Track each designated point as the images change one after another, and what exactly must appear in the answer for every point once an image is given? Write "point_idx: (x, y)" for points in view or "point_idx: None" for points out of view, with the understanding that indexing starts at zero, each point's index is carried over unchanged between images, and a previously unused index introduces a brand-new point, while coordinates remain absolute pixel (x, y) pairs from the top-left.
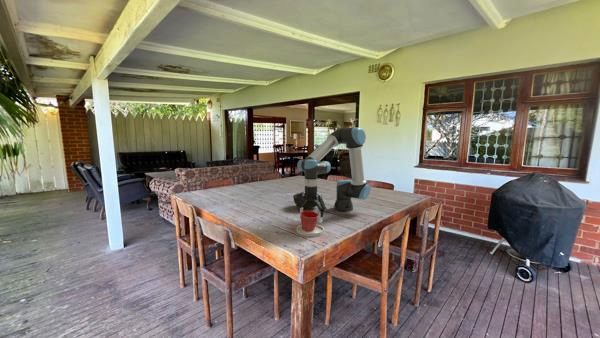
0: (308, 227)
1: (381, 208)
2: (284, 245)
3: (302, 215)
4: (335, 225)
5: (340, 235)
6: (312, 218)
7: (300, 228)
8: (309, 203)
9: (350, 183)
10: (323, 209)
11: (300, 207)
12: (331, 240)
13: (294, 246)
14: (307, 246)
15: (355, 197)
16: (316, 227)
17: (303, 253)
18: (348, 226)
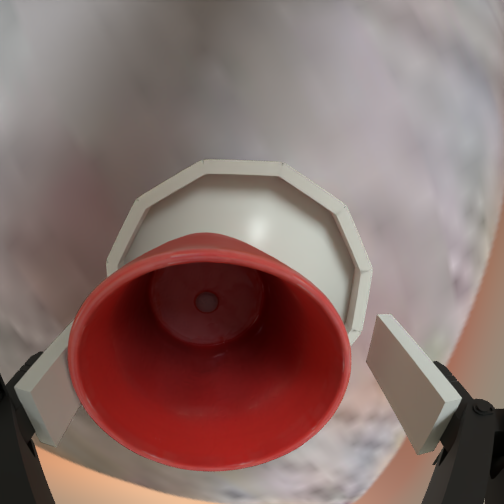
0: (248, 364)
1: None
2: (229, 494)
3: (175, 466)
4: (366, 35)
5: (470, 235)
6: (308, 432)
7: None
8: None
9: None
10: (495, 466)
11: (31, 436)
12: (437, 344)
13: (276, 485)
14: (334, 462)
15: None
16: (250, 195)
17: (342, 495)
18: (450, 29)
